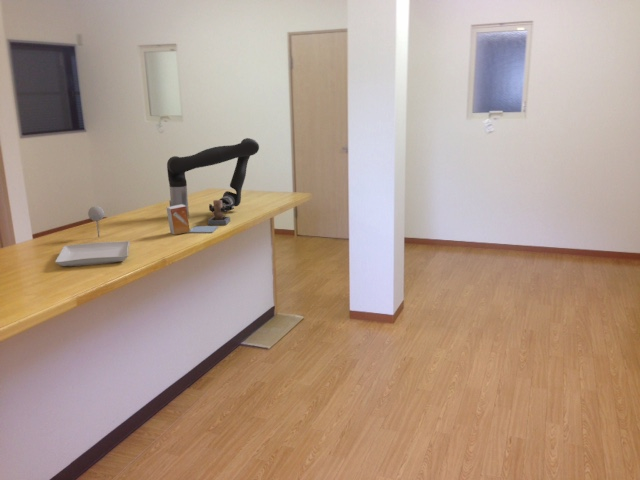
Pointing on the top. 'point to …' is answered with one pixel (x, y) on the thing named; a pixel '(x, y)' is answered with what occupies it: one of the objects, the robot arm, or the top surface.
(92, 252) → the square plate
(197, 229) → the mat
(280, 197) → the top surface
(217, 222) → the socket
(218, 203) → the plug
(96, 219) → the lollipop
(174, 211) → the small box
